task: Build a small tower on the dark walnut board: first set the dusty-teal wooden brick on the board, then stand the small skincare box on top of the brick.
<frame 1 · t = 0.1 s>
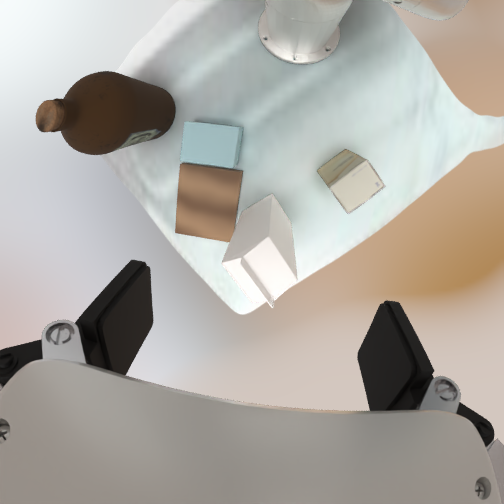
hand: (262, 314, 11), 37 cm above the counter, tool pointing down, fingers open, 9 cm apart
milk: (266, 216, 48), on the counter
brick: (215, 142, 43), on the counter
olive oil: (150, 113, 42), on the counter
board: (208, 201, 47), on the counter
skincare box: (338, 170, 43), on the counter
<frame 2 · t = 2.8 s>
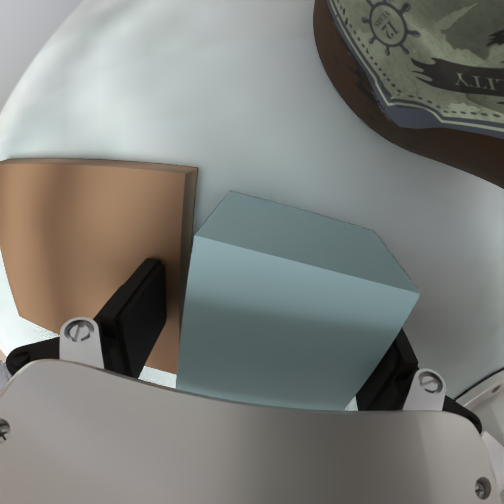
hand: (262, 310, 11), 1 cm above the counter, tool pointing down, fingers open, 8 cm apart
brick: (277, 293, 13), on the counter
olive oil: (420, 48, 8), on the counter
board: (82, 255, 13), on the counter
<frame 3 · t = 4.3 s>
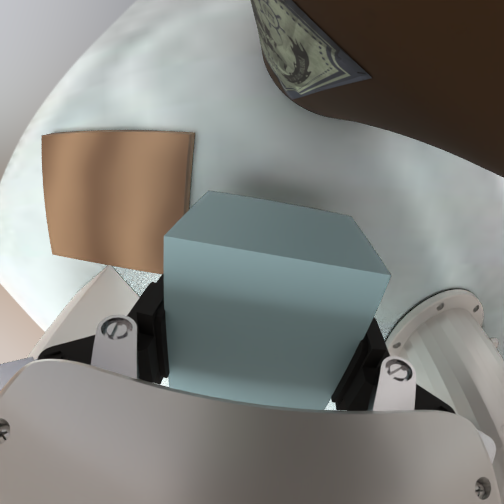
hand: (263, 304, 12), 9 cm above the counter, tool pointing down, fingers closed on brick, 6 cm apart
milk: (114, 301, 24), on the counter
brick: (264, 285, 13), point 7 cm above the counter, touching gripper
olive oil: (333, 51, 14), on the counter
board: (113, 196, 19), on the counter
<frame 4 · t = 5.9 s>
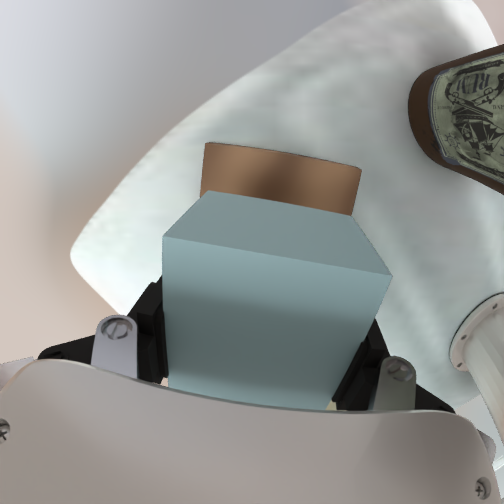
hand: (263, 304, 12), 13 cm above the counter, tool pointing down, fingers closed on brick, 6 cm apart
brick: (264, 286, 13), point 12 cm above the counter, touching gripper
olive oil: (449, 116, 18), on the counter
board: (274, 211, 24), on the counter
when the fingers open (3 cm above the counter, at t = 8.1 s): brick stays where it is, resting on board.
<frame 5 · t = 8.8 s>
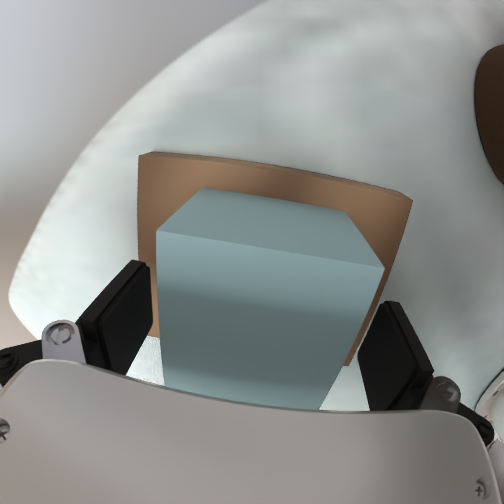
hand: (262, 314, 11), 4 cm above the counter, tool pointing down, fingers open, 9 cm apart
brick: (259, 282, 13), point 1 cm above the counter, touching board
board: (262, 264, 15), on the counter
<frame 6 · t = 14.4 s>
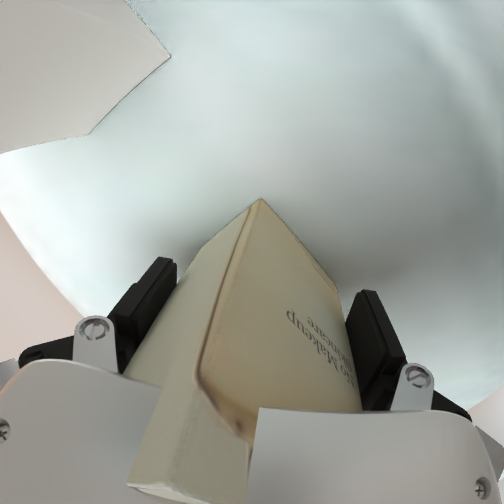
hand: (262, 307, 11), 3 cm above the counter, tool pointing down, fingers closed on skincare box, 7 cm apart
milk: (101, 60, 11), on the counter
skincare box: (266, 265, 15), on the counter, touching gripper
when the fingers open (11 cm above the counter, at t = 22.6 s): skincare box stays where it is, resting on brick.
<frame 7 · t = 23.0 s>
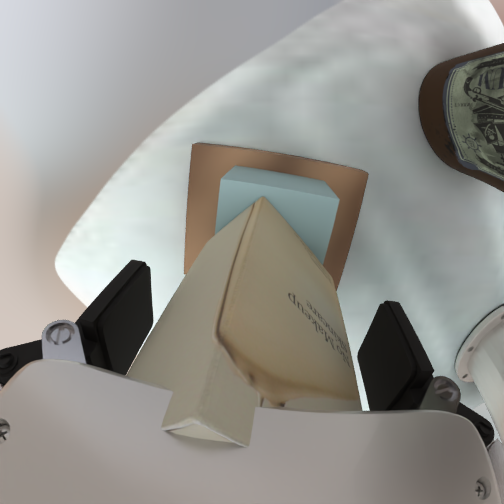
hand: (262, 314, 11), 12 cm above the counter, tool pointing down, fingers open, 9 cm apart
brick: (270, 228, 20), point 2 cm above the counter, touching board, skincare box
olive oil: (461, 115, 16), on the counter
board: (270, 219, 21), on the counter
skincare box: (267, 258, 16), point 6 cm above the counter, touching brick
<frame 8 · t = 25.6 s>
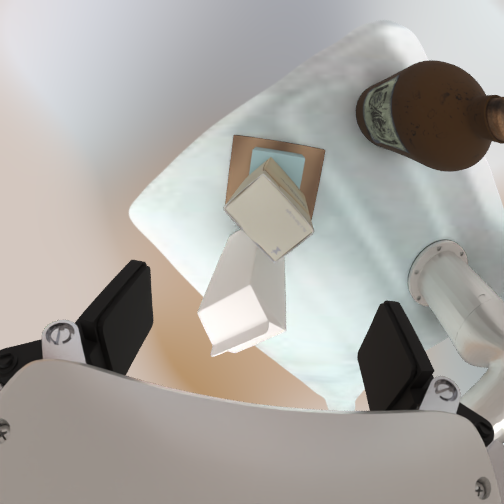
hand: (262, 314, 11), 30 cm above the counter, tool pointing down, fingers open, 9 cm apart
milk: (256, 241, 43), on the counter
brick: (274, 179, 37), point 1 cm above the counter, touching board, skincare box
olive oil: (385, 115, 33), on the counter
board: (274, 176, 38), on the counter
skincare box: (273, 187, 33), point 6 cm above the counter, touching brick
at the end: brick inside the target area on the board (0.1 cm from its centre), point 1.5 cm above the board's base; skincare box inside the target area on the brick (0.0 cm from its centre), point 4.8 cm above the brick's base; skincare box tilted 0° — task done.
